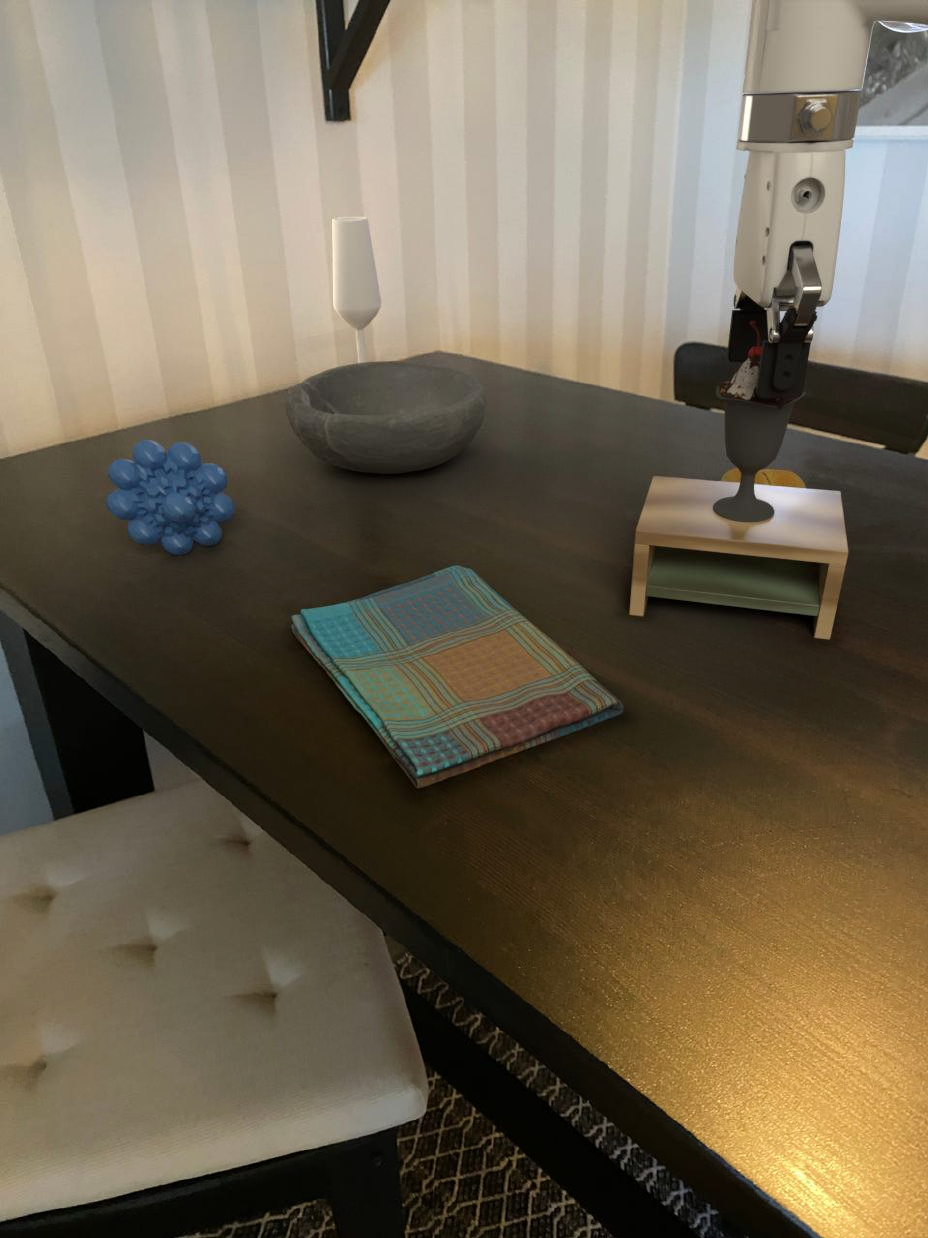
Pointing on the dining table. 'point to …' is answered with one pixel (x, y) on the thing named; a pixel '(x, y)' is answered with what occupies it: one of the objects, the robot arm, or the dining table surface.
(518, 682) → the dish towel
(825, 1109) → the dining table surface
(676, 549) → the shelf
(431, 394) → the bowl
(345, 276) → the champagne flute
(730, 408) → the sundae
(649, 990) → the dining table surface
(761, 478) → the bread roll
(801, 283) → the robot arm
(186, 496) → the blue flower ornament
